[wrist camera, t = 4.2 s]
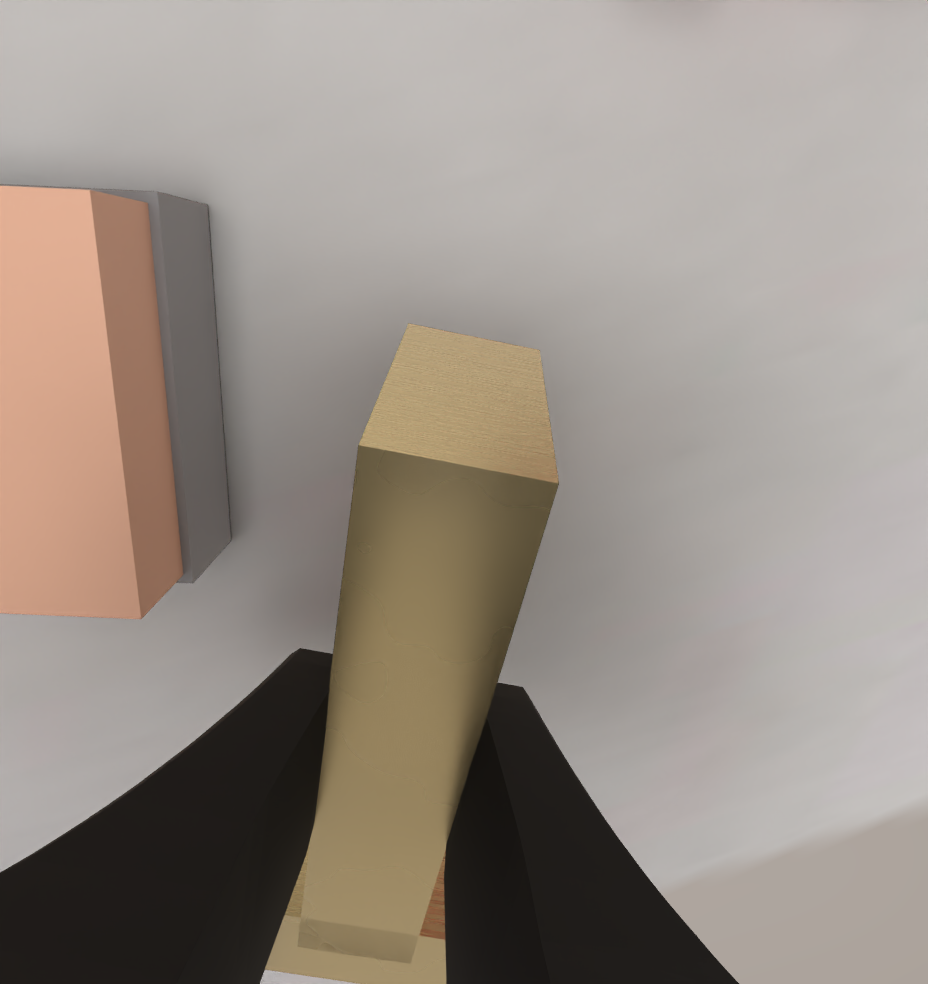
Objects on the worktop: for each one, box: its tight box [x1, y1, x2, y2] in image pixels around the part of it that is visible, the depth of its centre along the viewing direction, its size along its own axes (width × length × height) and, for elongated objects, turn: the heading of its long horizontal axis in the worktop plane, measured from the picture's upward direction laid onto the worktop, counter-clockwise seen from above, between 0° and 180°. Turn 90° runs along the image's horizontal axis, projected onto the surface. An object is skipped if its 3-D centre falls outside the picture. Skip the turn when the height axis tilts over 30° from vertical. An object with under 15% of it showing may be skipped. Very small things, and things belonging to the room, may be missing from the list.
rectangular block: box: [265, 323, 559, 984], centre depth 10 cm, size 10×4×4 cm, turn 169°
